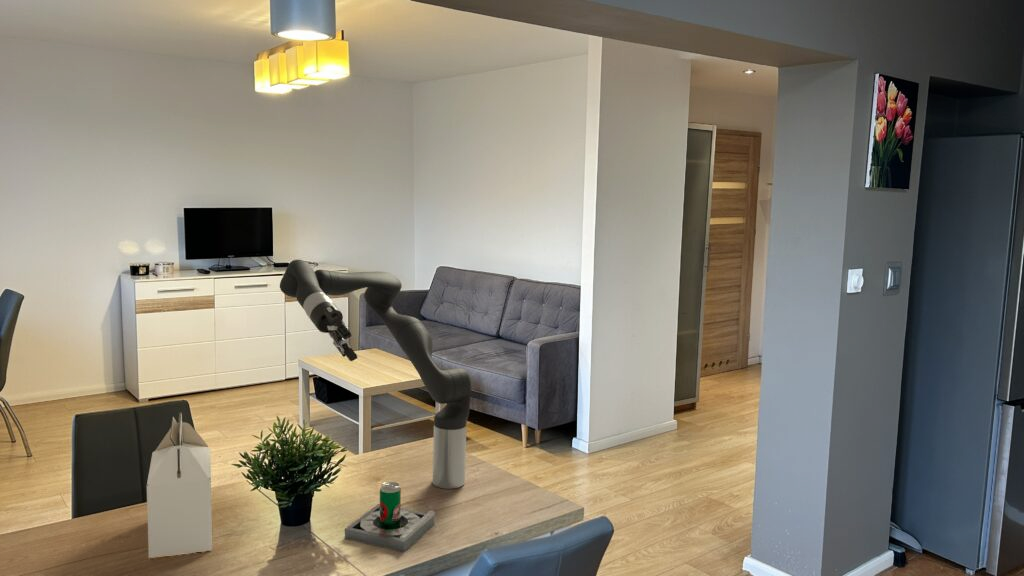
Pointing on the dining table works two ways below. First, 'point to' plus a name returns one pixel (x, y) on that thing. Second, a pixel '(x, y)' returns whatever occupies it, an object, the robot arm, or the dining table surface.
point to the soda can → (390, 506)
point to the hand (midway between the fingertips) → (351, 348)
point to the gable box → (179, 493)
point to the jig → (390, 539)
